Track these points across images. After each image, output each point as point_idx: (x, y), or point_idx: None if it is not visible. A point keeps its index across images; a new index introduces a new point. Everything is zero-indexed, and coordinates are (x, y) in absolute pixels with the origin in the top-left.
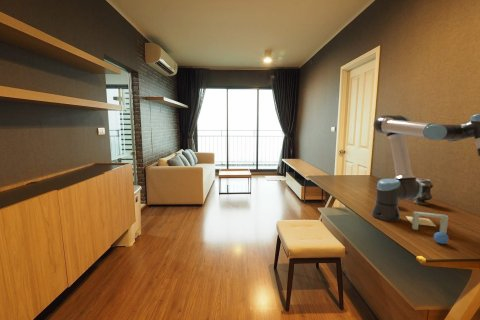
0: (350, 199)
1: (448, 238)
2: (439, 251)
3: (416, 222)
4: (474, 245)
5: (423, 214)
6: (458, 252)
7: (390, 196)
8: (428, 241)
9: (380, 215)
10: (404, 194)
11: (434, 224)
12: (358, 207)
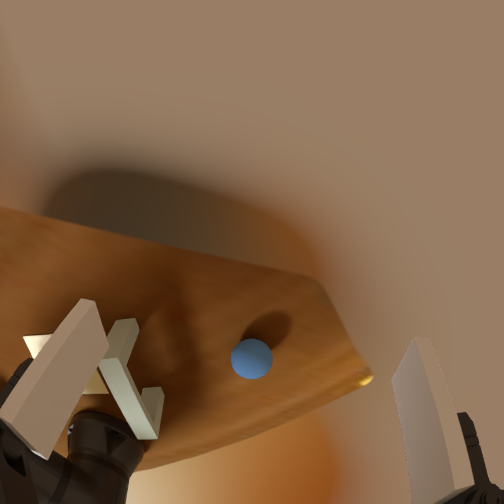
0: None
1: (260, 346)
2: (318, 353)
3: (159, 408)
4: (205, 256)
5: (148, 420)
6: (301, 313)
7: (119, 499)
8: None
9: (141, 459)
10: (68, 475)
11: None
12: None
